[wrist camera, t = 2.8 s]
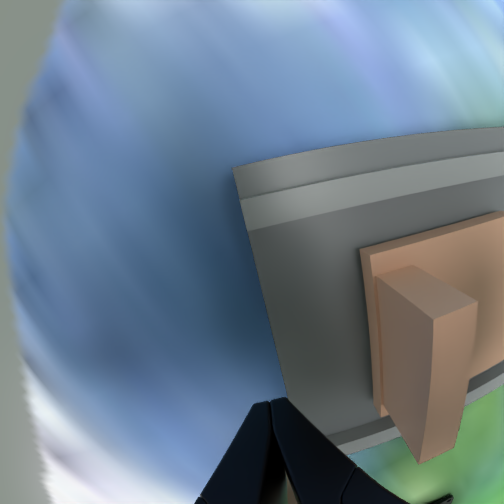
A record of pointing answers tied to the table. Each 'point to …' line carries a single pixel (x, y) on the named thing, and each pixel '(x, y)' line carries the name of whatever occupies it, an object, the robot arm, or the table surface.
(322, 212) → the socket block
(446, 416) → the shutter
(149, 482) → the table surface
